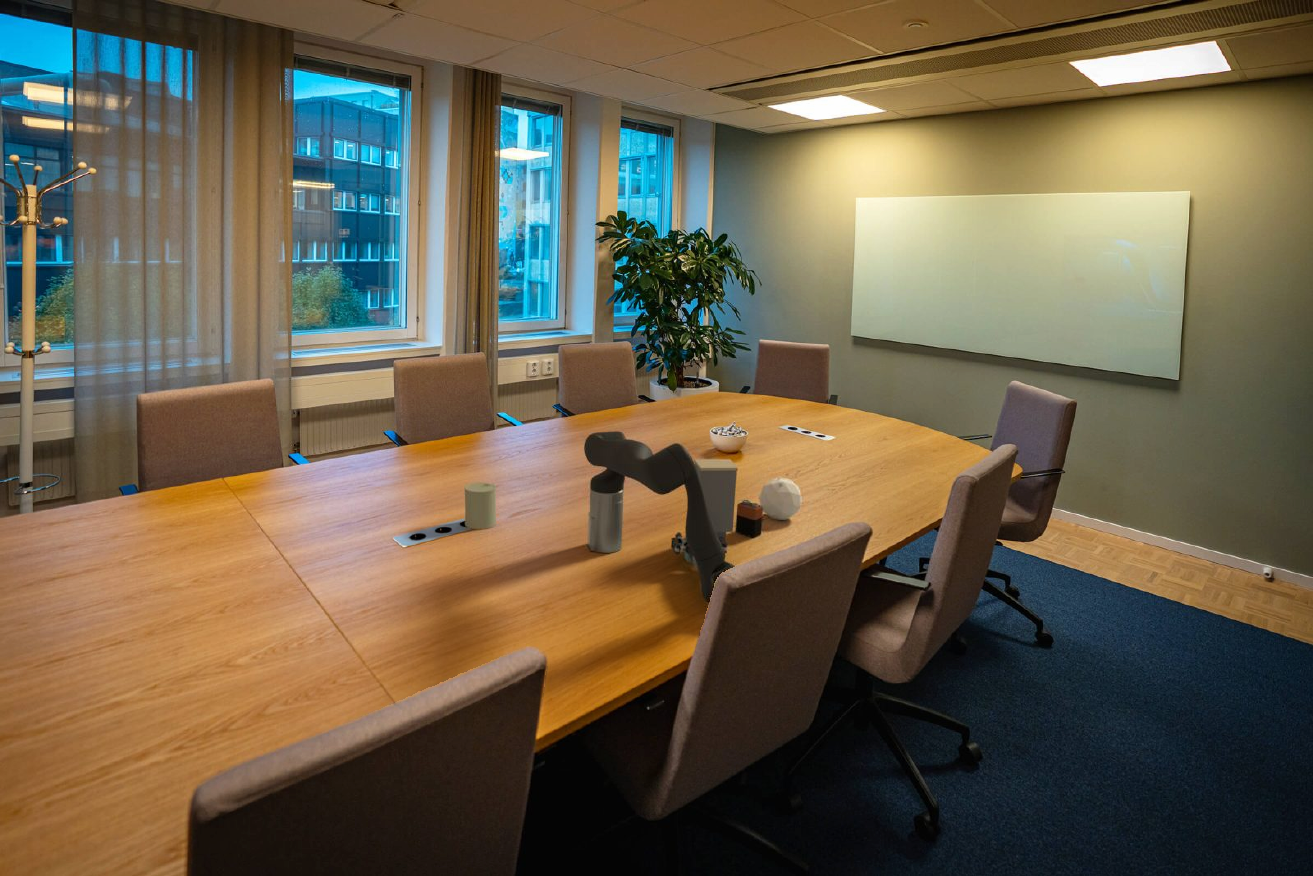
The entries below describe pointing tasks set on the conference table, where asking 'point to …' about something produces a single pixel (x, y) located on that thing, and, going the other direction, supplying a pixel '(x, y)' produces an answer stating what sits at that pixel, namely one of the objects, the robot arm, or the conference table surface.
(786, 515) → the geodesic sphere
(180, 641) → the conference table surface
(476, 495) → the can
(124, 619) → the conference table surface
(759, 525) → the battery
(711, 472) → the cabinet
